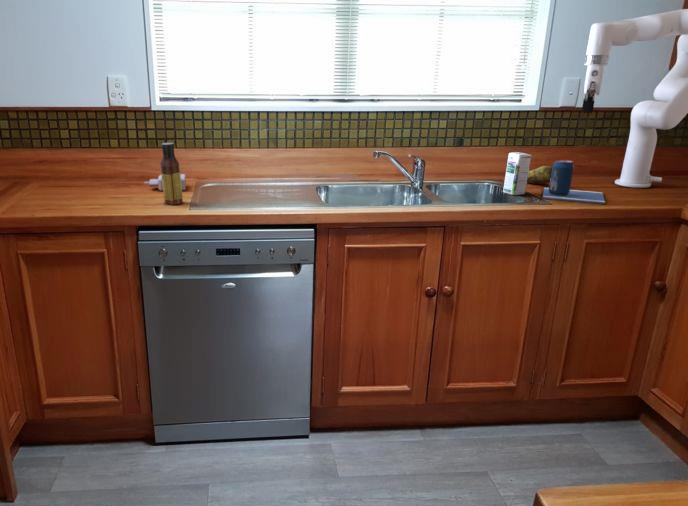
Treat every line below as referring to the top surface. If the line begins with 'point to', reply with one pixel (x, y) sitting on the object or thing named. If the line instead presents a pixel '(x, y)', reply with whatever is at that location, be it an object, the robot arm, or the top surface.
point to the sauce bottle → (171, 176)
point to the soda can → (561, 177)
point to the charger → (159, 182)
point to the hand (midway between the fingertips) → (586, 111)
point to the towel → (577, 196)
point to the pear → (540, 175)
